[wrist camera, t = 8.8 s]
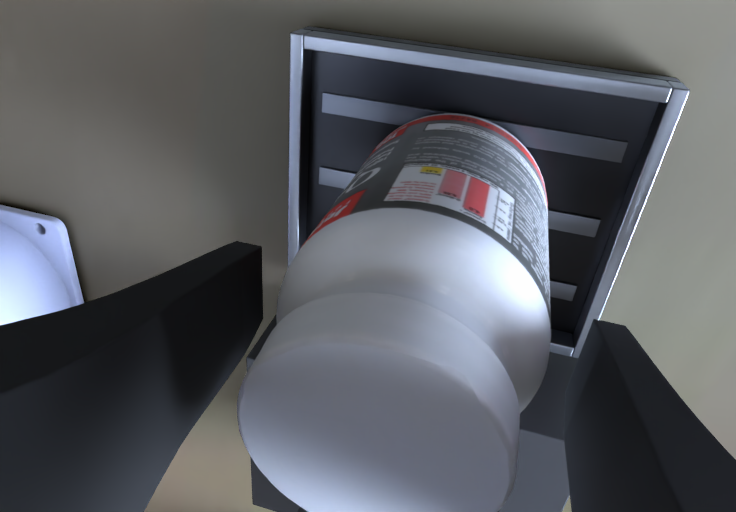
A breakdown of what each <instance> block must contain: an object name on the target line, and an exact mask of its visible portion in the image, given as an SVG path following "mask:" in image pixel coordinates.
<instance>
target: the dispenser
mask: <svg viewBox="0 0 736 512" xmlns="http://www.w3.org/2000/svg"><path fill="white" fill-rule="evenodd" d="M276 315H277V314H276ZM276 315H275V317H274V318H273V320H272V321H271V323H270V324H269V326H268V327H267V329H266V330H265V331H264V333H263V334H262V336H261V337H260V339H259V340H258V342H257V343H256V345H255V346H254V347H253V349H252V350H251V352H250V353H249V355H248V356H247V358H246V361H247V372H248V370H249V368H250V367H251V365H252V364H253V362H254V360H255V359H256V357H257V356H258V354H259V353H260V351H261V349H262V347H263V345H264V343H265V342H266V340H267V338H268V336H269V335H270V333H271V332H272V330H273V329H274V328H275V327H276V325H277V320H276ZM577 360H578V358H574V357H572V356H565V355H561V354H557V353H553V352H550V353H549V360H548V365H547V369H546V372H545V375H544V378H543V381H542V383H541V385H540V387H539V389H538V391H537V392H536V394H535V395H534V397H533V399H532V400H531V401H530V403H529V404H528V405H527V407H526V408H525V409H524V410H523V411H522V412H521V413H520V425H519V429H520V432H519V447H518V464H517V474H516V479H515V483H514V486H513V489H512V491H511V493H510V495H509V497H508V499H507V501H506V502H505V504H504V505H503V506H502V508H501V509H500V510H499V511H498V512H562V511H563V509H564V506H565V504H566V502H567V500H568V498H569V495H570V490H569V481H568V472H567V462H566V453H565V443H564V409H565V391H566V389H567V386H568V383H569V381H570V378H571V376H572V373H573V371H574V368H575V365H576V363H577ZM251 476H252V499H253V504H254V505H257V506H260V507H263V508H267V509H270V510H273V511H276V512H308V511H306V510H304V509H303V508H302V507H300V506H299V505H297V504H296V503H294V502H293V501H292V500H290V499H289V498H287V497H286V496H285V495H284V494H282V493H281V492H280V491H279V490H278V489H277V488H276V487H275V486H274V485H273V484H272V483H271V482H270V481H269V480H268V479H267V477H266V476H265V475H264V474H263V473H262V472H261V471H260V470H259V468H258V467H257V465H256V464H255V463H254V461H253V459H252V457H251Z"/></svg>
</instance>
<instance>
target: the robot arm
mask: <svg viewBox="0 0 736 512" xmlns="http://www.w3.org/2000/svg"><path fill="white" fill-rule="evenodd" d="M262 320H263V289H262V246H257V245H252V244H248V243H243V242H239V241H236V242H233V243H230V244H227V245H225V246H223V247H220V248H218V249H216V250H213V251H211V252H209V253H207V254H204V255H202V256H200V257H198V258H196V259H193V260H191V261H189V262H187V263H185V264H182V265H180V266H178V267H176V268H173V269H171V270H169V271H167V272H164V273H162V274H160V275H158V276H155V277H153V278H150V279H148V280H145V281H143V282H140V283H138V284H135V285H133V286H130V287H128V288H125V289H123V290H120V291H118V292H115V293H112V294H110V295H107V296H104V297H101V298H98V299H95V300H92V301H89V302H86V303H84V300H83V296H82V292H81V288H80V284H79V279H78V275H77V271H76V267H75V262H74V258H73V254H72V250H71V246H70V241H69V237H68V233H67V229H66V226H65V225H64V223H63V222H62V221H61V220H59V219H58V218H55V217H52V216H48V215H44V214H39V213H35V212H30V211H26V210H21V209H17V208H13V207H8V206H4V205H0V512H144V510H145V508H146V506H147V505H148V503H149V501H150V499H151V497H152V495H153V493H154V492H155V490H156V488H157V486H158V484H159V482H160V481H161V479H162V477H163V475H164V474H165V472H166V470H167V468H168V467H169V465H170V463H171V461H172V460H173V458H174V456H175V454H176V453H177V451H178V449H179V447H180V446H181V444H182V443H183V441H184V440H185V438H186V437H187V435H188V434H189V432H190V430H191V429H192V428H193V426H194V425H195V423H196V422H197V421H198V419H199V418H200V416H201V415H202V414H203V412H204V411H205V409H206V408H207V407H208V405H209V404H210V403H211V401H212V400H213V398H214V397H215V396H216V394H217V393H218V391H219V390H220V389H221V387H222V386H223V384H224V383H225V382H226V380H227V379H228V377H229V376H230V375H231V373H232V372H233V370H234V369H235V367H236V366H237V365H238V363H239V362H240V360H241V359H242V357H243V356H244V354H245V353H246V351H247V349H248V347H249V345H250V343H251V341H252V340H253V338H254V336H255V334H256V332H257V330H258V328H259V326H260V324H261V322H262ZM564 443H565V453H566V462H567V472H568V481H569V490H570V499H571V508H572V512H736V460H735V459H734V458H733V457H732V456H731V455H730V454H729V453H728V451H727V450H726V449H725V448H724V447H723V446H722V445H721V444H720V443H719V442H718V440H717V439H716V438H715V437H714V436H713V435H712V434H711V433H710V432H709V430H708V429H707V428H706V427H705V426H704V425H703V424H702V423H701V421H700V420H699V419H698V418H697V417H696V416H695V414H694V413H693V412H692V411H691V410H690V408H689V407H688V406H687V405H686V404H685V402H684V401H683V400H682V399H681V398H680V396H679V395H678V394H677V393H676V391H675V390H674V389H673V388H672V386H671V385H670V384H669V382H668V381H667V380H666V379H665V377H664V376H663V375H662V373H661V372H660V371H659V369H658V368H657V367H656V365H655V364H654V363H653V362H652V360H651V359H650V358H649V356H648V355H647V354H646V352H645V351H644V350H643V348H642V347H641V345H640V344H639V343H638V341H637V340H636V339H635V338H634V336H633V335H632V334H631V332H630V331H629V330H628V329H627V327H626V326H624V325H619V324H614V323H610V322H605V321H601V320H596V319H593V322H592V324H591V327H590V329H589V332H588V334H587V337H586V340H585V342H584V345H583V347H582V350H581V353H580V355H579V358H578V360H577V363H576V365H575V368H574V371H573V373H572V376H571V378H570V381H569V383H568V386H567V389H566V391H565V409H564Z"/></svg>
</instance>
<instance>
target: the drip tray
mask: <svg viewBox="0 0 736 512" xmlns="http://www.w3.org/2000/svg"><path fill="white" fill-rule="evenodd" d="M689 92H690V90H689V89H688V88H687V87H686V86H685V85H684V84H683V83H681V82H680V81H679V80H678V79H677V78H674V77H667V76H660V75H652V74H645V73H638V72H631V71H624V70H617V69H610V68H603V67H595V66H588V65H581V64H574V63H567V62H560V61H553V60H546V59H538V58H531V57H524V56H517V55H510V54H503V53H496V52H488V51H481V50H474V49H467V48H460V47H453V46H446V45H439V44H431V43H424V42H417V41H410V40H403V39H396V38H389V37H382V36H374V35H367V34H360V33H353V32H346V31H339V30H332V29H325V28H317V27H310V26H308V27H305V28H303V29H299V30H296V31H294V32H291V33H290V85H289V192H288V267H289V266H290V264H291V262H292V261H293V259H294V257H295V256H296V254H297V253H298V251H299V250H300V248H301V247H302V245H303V244H304V243H305V241H306V240H307V239H308V237H309V236H310V235H311V233H312V232H313V231H314V230H315V228H316V227H317V226H318V224H319V223H320V222H321V220H322V219H323V218H324V216H325V215H326V214H327V212H328V211H329V210H330V208H331V207H332V206H333V204H334V203H335V201H336V200H337V199H338V197H339V196H340V195H341V193H342V192H343V191H344V189H345V188H346V187H347V185H348V184H349V183H350V181H351V180H352V178H353V177H354V176H355V174H356V173H357V172H358V171H359V169H360V168H361V166H362V165H363V163H364V162H365V161H366V159H367V158H368V157H369V155H370V154H371V153H372V151H373V150H374V149H375V148H376V147H377V145H378V144H379V143H381V142H382V141H383V140H384V139H385V138H386V137H387V136H388V135H389V134H390V133H392V132H393V131H394V130H396V129H397V128H399V127H401V126H402V125H404V124H406V123H408V122H410V121H413V120H415V119H418V118H421V117H425V116H429V115H435V114H444V113H458V114H465V115H471V116H475V117H478V118H482V119H485V120H488V121H490V122H492V123H494V124H496V125H498V126H500V127H502V128H503V129H505V130H506V131H508V132H509V133H511V134H512V135H513V136H514V137H516V138H517V139H518V140H519V141H520V142H521V143H522V144H523V145H524V146H525V147H526V149H527V150H528V151H529V153H530V154H531V155H532V157H533V158H534V160H535V162H536V163H537V165H538V167H539V169H540V172H541V175H542V177H543V181H544V184H545V189H546V195H547V202H548V245H549V283H550V309H551V342H550V352H553V353H557V354H561V355H565V356H572V357H574V358H579V355H580V353H581V350H582V347H583V345H584V342H585V340H586V337H587V334H588V332H589V329H590V327H591V324H592V322H593V319H596V320H599V319H600V317H601V314H602V312H603V309H604V307H605V304H606V301H607V299H608V296H609V294H610V291H611V289H612V286H613V284H614V281H615V279H616V276H617V274H618V271H619V269H620V266H621V264H622V261H623V259H624V256H625V254H626V251H627V249H628V246H629V244H630V241H631V238H632V236H633V233H634V231H635V228H636V226H637V223H638V221H639V218H640V216H641V213H642V211H643V208H644V206H645V203H646V201H647V198H648V196H649V193H650V191H651V188H652V186H653V183H654V180H655V178H656V175H657V173H658V170H659V168H660V165H661V163H662V160H663V158H664V155H665V153H666V150H667V148H668V145H669V143H670V140H671V138H672V135H673V133H674V130H675V128H676V125H677V122H678V120H679V117H680V115H681V112H682V110H683V107H684V105H685V102H686V100H687V97H688V95H689Z"/></svg>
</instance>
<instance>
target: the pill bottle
mask: <svg viewBox="0 0 736 512" xmlns="http://www.w3.org/2000/svg"><path fill="white" fill-rule="evenodd" d="M276 320H277V325H276V327H275V328H274V329H273V330H272V332H271V333H270V335H269V336H268V338H267V340H266V342H265V343H264V345H263V347H262V349H261V351H260V353H259V354H258V356H257V357H256V359H255V360H254V362H253V364H252V365H251V367H250V368H249V370H248V372H247V374H246V375H245V377H244V380H243V382H242V384H241V387H240V391H239V394H238V400H237V418H238V425H239V431H240V434H241V437H242V439H243V442H244V444H245V446H246V448H247V450H248V452H249V454H250V456H251V457H252V459H253V461H254V463H255V464H256V465H257V467H258V468H259V470H260V471H261V472H262V473H263V474H264V475H265V476H266V477H267V479H268V480H269V481H270V482H271V483H272V484H273V485H274V486H275V487H276V488H277V489H278V490H279V491H280V492H281V493H282V494H284V495H285V496H286V497H287V498H289V499H290V500H292V501H293V502H294V503H296V504H297V505H299V506H300V507H302V508H303V509H304V510H306V511H308V512H498V511H499V510H500V509H501V508H502V506H503V505H504V504H505V502H506V501H507V499H508V497H509V495H510V493H511V491H512V489H513V486H514V483H515V479H516V474H517V464H518V447H519V432H520V429H519V425H520V413H521V412H522V411H523V410H524V409H525V408H526V407H527V405H528V404H529V403H530V401H531V400H532V399H533V397H534V395H535V394H536V392H537V391H538V389H539V387H540V385H541V383H542V381H543V378H544V375H545V372H546V369H547V365H548V360H549V353H550V342H551V309H550V283H549V245H548V202H547V195H546V189H545V184H544V181H543V177H542V175H541V172H540V169H539V167H538V165H537V163H536V162H535V160H534V158H533V157H532V155H531V154H530V153H529V151H528V150H527V149H526V147H525V146H524V145H523V144H522V143H521V142H520V141H519V140H518V139H517V138H516V137H514V136H513V135H512V134H511V133H509V132H508V131H506V130H505V129H503V128H502V127H500V126H498V125H496V124H494V123H492V122H490V121H488V120H485V119H482V118H478V117H475V116H471V115H465V114H458V113H444V114H435V115H429V116H425V117H421V118H418V119H415V120H413V121H410V122H408V123H406V124H404V125H402V126H401V127H399V128H397V129H396V130H394V131H393V132H392V133H390V134H389V135H388V136H387V137H386V138H385V139H384V140H383V141H382V142H381V143H379V144H378V145H377V147H376V148H375V149H374V150H373V151H372V153H371V154H370V155H369V157H368V158H367V159H366V161H365V162H364V163H363V165H362V166H361V168H360V169H359V171H358V172H357V173H356V174H355V176H354V177H353V178H352V180H351V181H350V183H349V184H348V185H347V187H346V188H345V189H344V191H343V192H342V193H341V195H340V196H339V197H338V199H337V200H336V201H335V203H334V204H333V206H332V207H331V208H330V210H329V211H328V212H327V214H326V215H325V216H324V218H323V219H322V220H321V222H320V223H319V224H318V226H317V227H316V228H315V230H314V231H313V232H312V233H311V235H310V236H309V237H308V239H307V240H306V241H305V243H304V244H303V245H302V247H301V248H300V250H299V251H298V253H297V254H296V256H295V257H294V259H293V261H292V262H291V264H290V266H289V267H288V270H287V272H286V274H285V276H284V279H283V282H282V285H281V288H280V292H279V296H278V302H277V315H276Z"/></svg>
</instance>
